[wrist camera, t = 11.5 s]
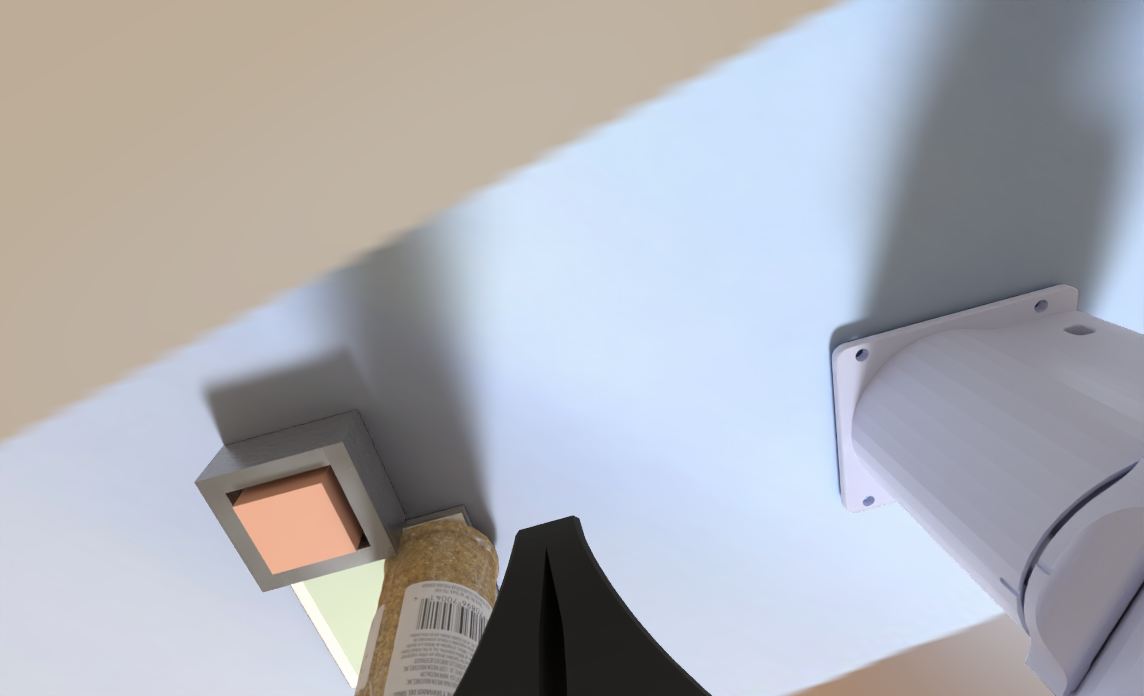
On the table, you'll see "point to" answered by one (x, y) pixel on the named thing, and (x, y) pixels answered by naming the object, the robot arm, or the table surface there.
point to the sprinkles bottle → (430, 611)
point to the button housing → (299, 452)
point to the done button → (299, 519)
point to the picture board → (354, 602)
